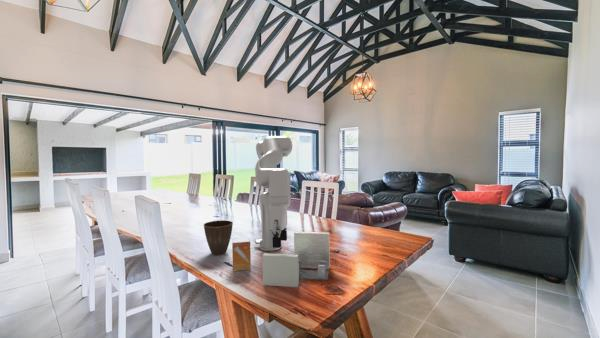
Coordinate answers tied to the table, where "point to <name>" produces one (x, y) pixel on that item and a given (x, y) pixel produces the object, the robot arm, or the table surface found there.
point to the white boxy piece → (312, 254)
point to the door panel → (280, 270)
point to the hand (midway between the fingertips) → (280, 243)
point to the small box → (241, 254)
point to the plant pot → (218, 235)
